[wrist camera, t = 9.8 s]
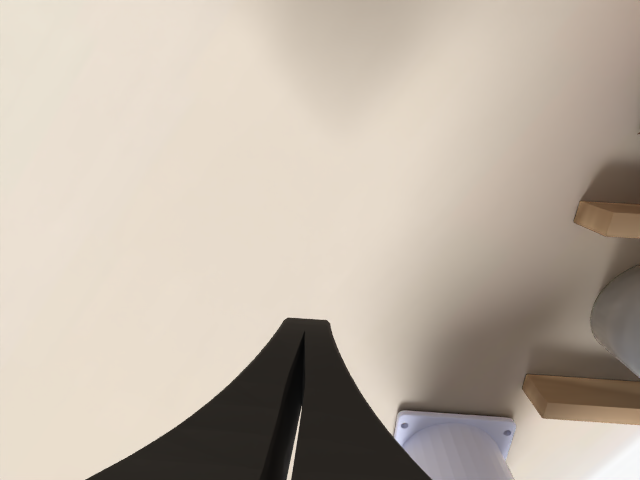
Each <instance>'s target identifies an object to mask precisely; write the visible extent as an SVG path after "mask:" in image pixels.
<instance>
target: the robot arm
mask: <svg viewBox="0 0 640 480" xmlns="http://www.w3.org/2000/svg"><path fill="white" fill-rule="evenodd" d="M301 406H302V412H301V419H300V426H299V433H298V440H297V446H296V453H295V459H294V466H293V472H292V478H291V480H514V478H513V475H512V473H511V471H510V469H509V467H508V465H507V463H506V458H507V455H508V451H509V448H510V445H511V442H512V439H513V436H514V433H515V429H516V424H515V422H514V420H513V419H511V418H506V417H492V416H478V415H463V414H449V413H435V412H421V411H406V410H404V411H401V412H399V413H398V415H397V421H396V427H395V433H394V437H393V436H392V435H391V434H390V433H389V431H388V430H387V429H386V428H385V426H384V425H383V424H382V422H381V421H380V420H379V418H378V417H377V416H376V414H375V413H374V412H373V410H372V409H371V407H370V406H369V404H368V403H367V402H366V400H365V398H364V397H363V395H362V394H361V392H360V391H359V389H358V387H357V386H356V384H355V382H354V380H353V379H352V377H351V375H350V373H349V371H348V369H347V368H346V365H345V363H344V361H343V359H342V357H341V355H340V353H339V350H338V348H337V346H336V343H335V340H334V338H333V335H332V331H331V327H330V323H329V322H328V321H327V320H316V319H300V318H287V319H285V320H284V321H283V323H282V324H281V326H280V327H279V329H278V330H277V332H276V333H275V334H274V336H273V337H272V338H271V340H270V341H269V342H268V343H267V345H266V346H265V347H264V348H263V349H262V350H261V352H260V353H259V354H258V355H257V356H256V357H255V359H254V360H253V361H252V362H251V363H250V364H249V365H248V366H247V367H246V368H245V369H244V370H243V371H242V372H241V373H240V374H239V375H238V376H237V377H236V378H235V379H234V380H233V381H232V382H231V383H230V384H229V385H228V386H227V387H226V388H225V389H224V390H222V391H221V392H220V393H219V394H218V395H217V396H215V397H214V398H213V399H212V400H211V401H210V402H208V403H207V404H206V405H204V406H203V407H202V408H201V409H199V410H198V411H197V412H196V413H194V414H193V415H192V416H190V417H189V418H188V419H186V420H185V421H184V422H182V423H181V424H179V425H178V426H177V427H175V428H174V429H172V430H171V431H169V432H168V433H166V434H164V435H163V436H161V437H160V438H158V439H157V440H155V441H153V442H152V443H150V444H149V445H147V446H145V447H144V448H142V449H140V450H139V451H137V452H135V453H134V454H132V455H130V456H128V457H127V458H125V459H123V460H121V461H119V462H118V463H116V464H114V465H112V466H110V467H108V468H106V469H104V470H103V471H101V472H99V473H97V474H95V475H93V476H91V477H90V478H88V479H86V480H286V479H287V474H288V469H289V464H290V459H291V455H292V450H293V445H294V440H295V435H296V430H297V426H298V421H299V416H300V411H301ZM402 423H405V424H402Z"/></svg>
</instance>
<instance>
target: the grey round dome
mask: <svg viewBox="0 0 640 480" xmlns="http://www.w3.org/2000/svg"><path fill="white" fill-rule="evenodd" d="M590 323H591V330H592V333H593V335H594V337H595V338H596V340H597V341H598V342H599V343H600V345H602V346H603V347H604V348H605V349H606V350H607V351H609V352H610V353H611V354H612V355H613V356H614V357H616V358H617V359H618V360H619V361H620V362H621V363H623V364H624V365H625V366H626V367H627V368H628V369H630V370H631V371H632V372H633V373H634V374H635V375H637V376H638V377H639V378H640V265H637V266H635V267H633V268H631V269H629V270H627V271H625V272H623V273H622V274H620V275H619V276H617V277H616V278H615V279H613V280H612V281H611V282H610V283H609V284H608V285H607V286H606V287H605V288H604V289H603V290H602V292H601V293H600V294H599V296H598V298H597V299H596V301H595V303H594V306H593V308H592V312H591V318H590Z"/></svg>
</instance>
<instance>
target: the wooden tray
mask: <svg viewBox="0 0 640 480" xmlns="http://www.w3.org/2000/svg"><path fill="white" fill-rule="evenodd" d="M574 223H576V224H578V225H581V226H583V227H585V228H588V229H590V230H592V231H594V232H597V233H599V234H601V235H604V236H607V237H624V238H640V204H623V203H605V202H587V201H580V203H579V206H578V209H577V213H576V216H575V219H574ZM522 389H523V391H524V392H525V394H526V395H527V397H528V398H529V399H530V401H531V402H532V404H533V405H534V407H535V408H536V410H537V411H538V413H539V414H540V415H541V417H542V418H545V419H559V420H574V421H588V422H602V423H617V424H631V425H640V382H636V381H621V380H606V379H591V378H576V377H561V376H546V375H531V374H526V378H525V381H524V384H523V387H522Z"/></svg>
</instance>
